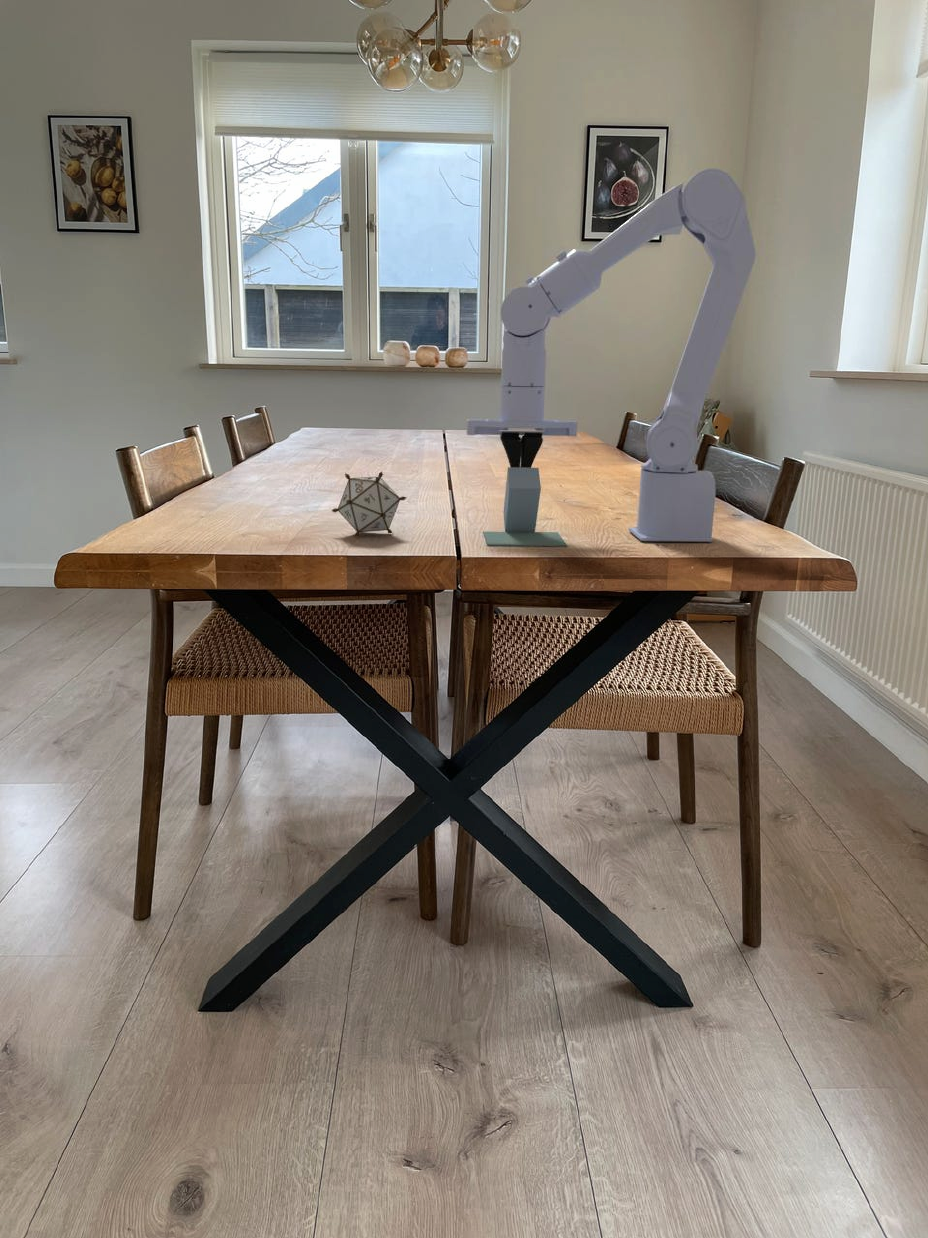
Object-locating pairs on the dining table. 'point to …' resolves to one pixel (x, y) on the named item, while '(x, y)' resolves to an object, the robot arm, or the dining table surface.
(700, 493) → the robot arm
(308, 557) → the dining table surface
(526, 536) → the felt mat
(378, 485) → the game die
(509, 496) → the slate-blue block
